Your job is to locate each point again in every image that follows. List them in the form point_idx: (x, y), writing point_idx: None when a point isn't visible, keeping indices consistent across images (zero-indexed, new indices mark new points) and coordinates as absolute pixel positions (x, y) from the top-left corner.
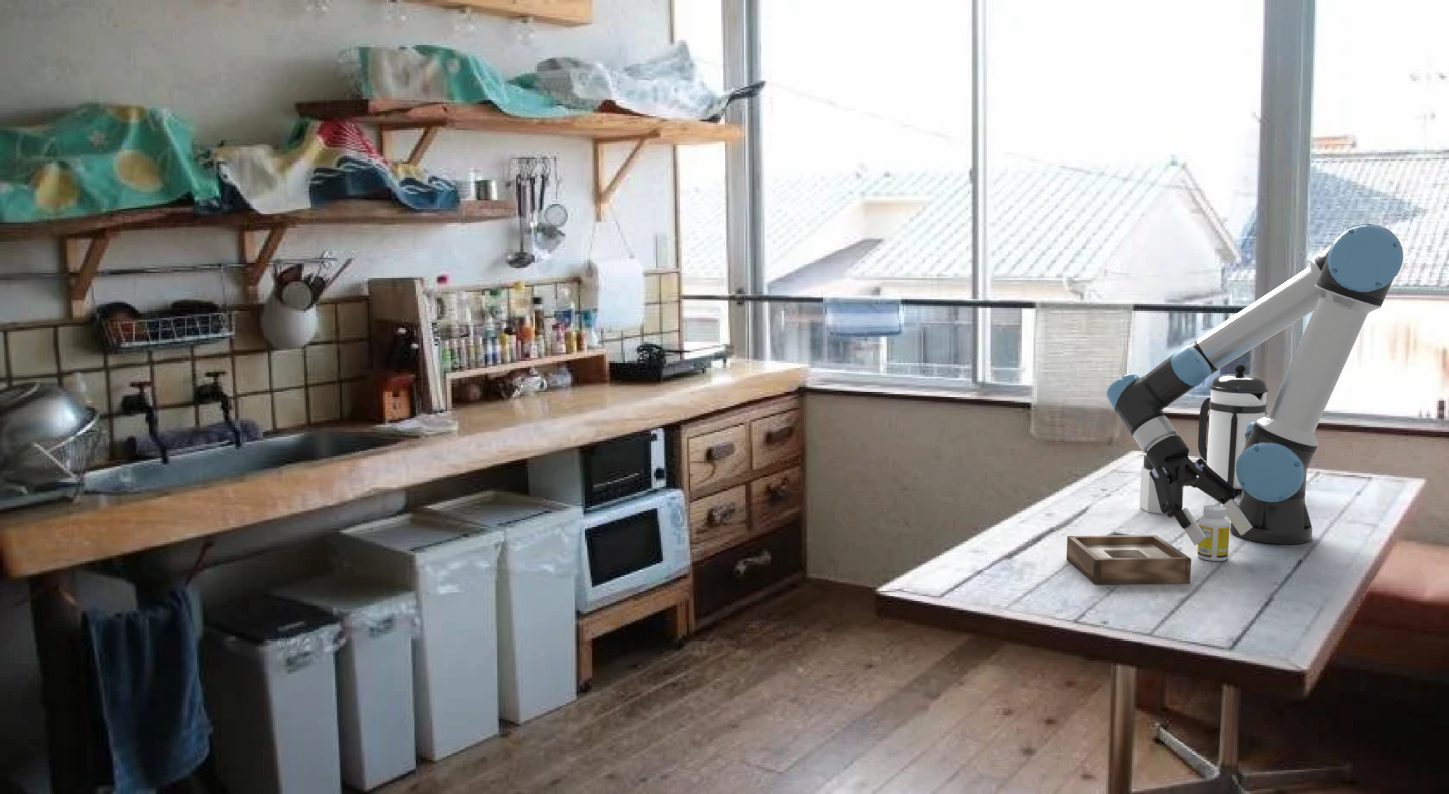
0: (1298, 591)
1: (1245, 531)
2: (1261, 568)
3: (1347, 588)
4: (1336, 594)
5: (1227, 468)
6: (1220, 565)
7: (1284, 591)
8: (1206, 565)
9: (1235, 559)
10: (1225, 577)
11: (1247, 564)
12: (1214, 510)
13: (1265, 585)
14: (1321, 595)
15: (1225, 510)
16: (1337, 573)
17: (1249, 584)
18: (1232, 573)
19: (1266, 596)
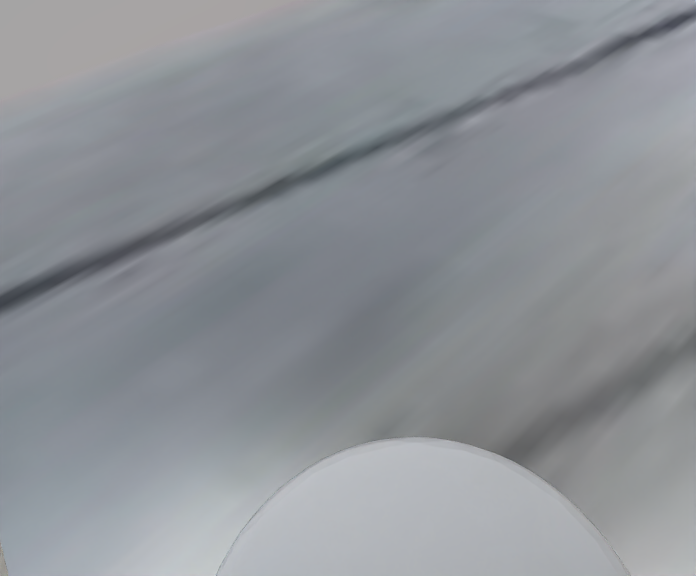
0: (439, 59)
1: (1, 556)
2: (287, 317)
3: (231, 27)
4: (336, 7)
5: None
6: None
7: (493, 74)
8: None
9: None
10: (620, 282)
11: (288, 409)
12: (578, 515)
13: (510, 139)
14: (397, 15)
15: (355, 446)
16: (47, 135)
17: (573, 170)
18: (528, 316)
19: (614, 63)
